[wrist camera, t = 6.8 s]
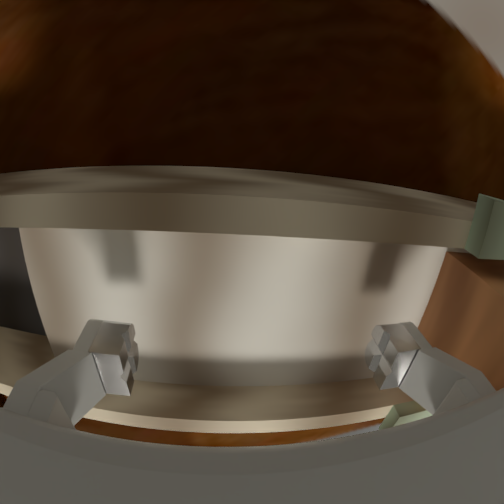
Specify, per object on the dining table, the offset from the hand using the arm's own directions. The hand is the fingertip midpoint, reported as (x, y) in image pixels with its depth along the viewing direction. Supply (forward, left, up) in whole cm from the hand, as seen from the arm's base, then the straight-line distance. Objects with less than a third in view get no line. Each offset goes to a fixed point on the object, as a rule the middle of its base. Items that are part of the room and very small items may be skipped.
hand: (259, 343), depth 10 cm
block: (+11, 0, -2) cm, 11 cm away
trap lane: (+4, 0, -4) cm, 6 cm away
